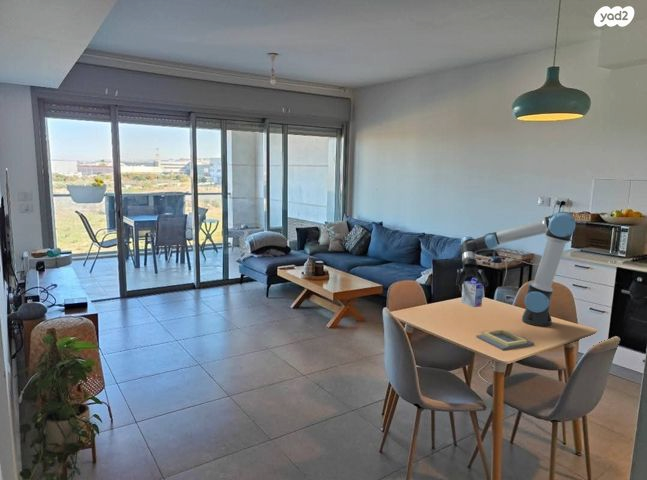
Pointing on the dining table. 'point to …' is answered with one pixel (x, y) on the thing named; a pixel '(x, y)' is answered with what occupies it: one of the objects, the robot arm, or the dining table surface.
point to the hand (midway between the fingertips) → (473, 296)
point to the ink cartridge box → (472, 293)
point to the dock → (504, 339)
